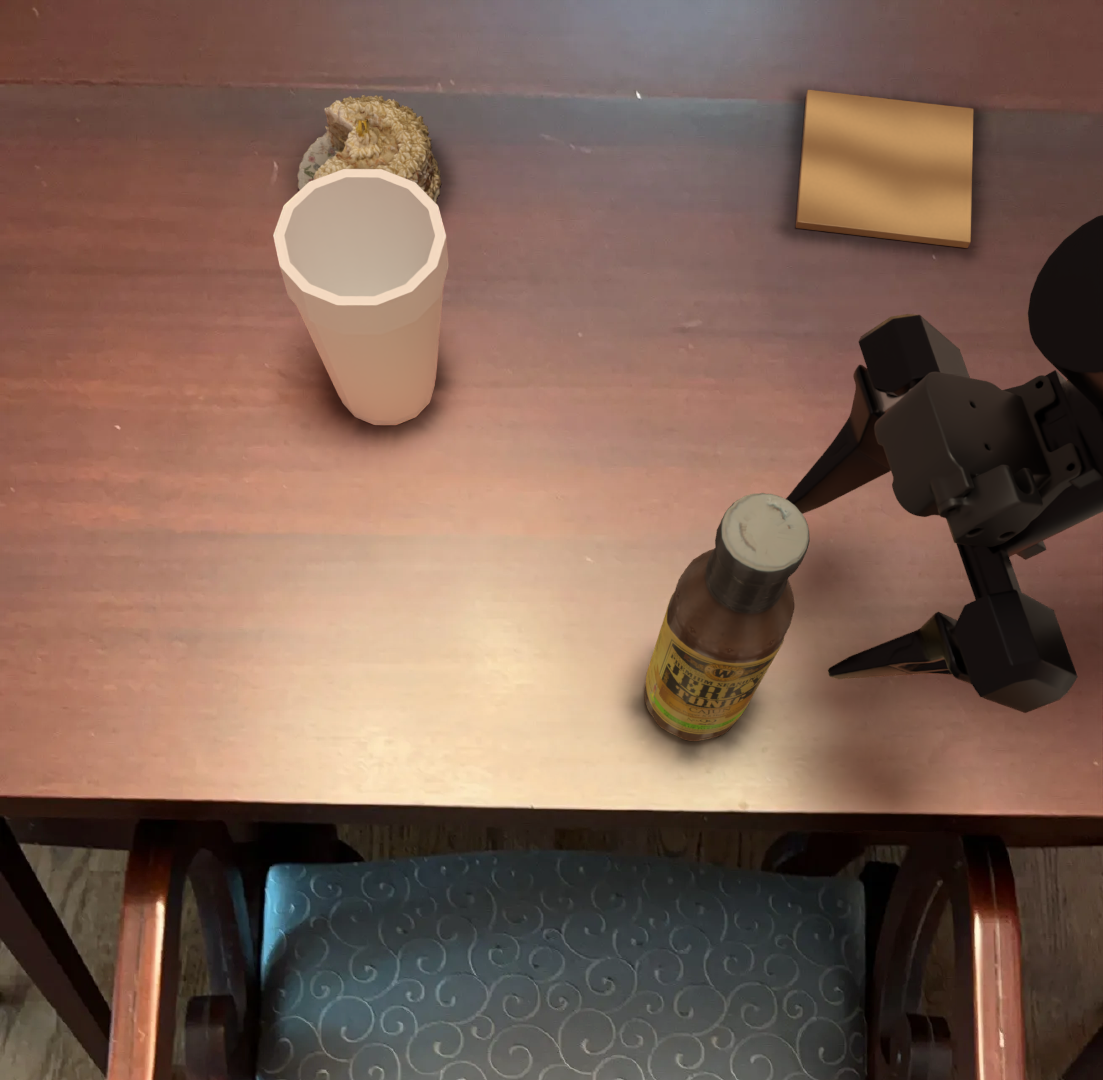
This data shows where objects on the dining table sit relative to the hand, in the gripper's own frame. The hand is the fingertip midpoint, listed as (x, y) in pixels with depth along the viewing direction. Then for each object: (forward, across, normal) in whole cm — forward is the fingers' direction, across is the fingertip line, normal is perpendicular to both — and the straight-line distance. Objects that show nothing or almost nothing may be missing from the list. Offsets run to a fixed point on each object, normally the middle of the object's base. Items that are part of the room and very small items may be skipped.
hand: (807, 591), depth 59 cm
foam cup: (+22, -25, -4) cm, 34 cm away
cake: (+21, -42, -3) cm, 47 cm away
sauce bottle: (+12, 0, +6) cm, 13 cm away
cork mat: (-4, -37, +22) cm, 43 cm away
